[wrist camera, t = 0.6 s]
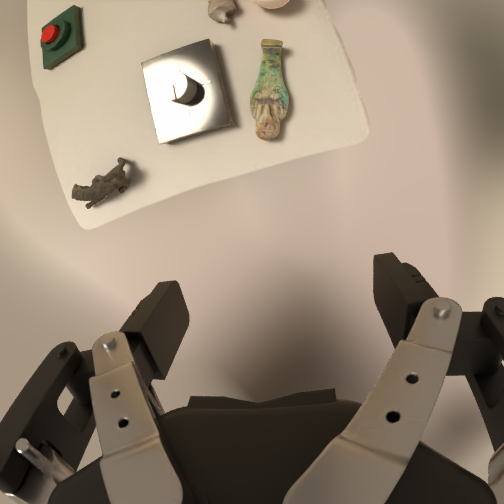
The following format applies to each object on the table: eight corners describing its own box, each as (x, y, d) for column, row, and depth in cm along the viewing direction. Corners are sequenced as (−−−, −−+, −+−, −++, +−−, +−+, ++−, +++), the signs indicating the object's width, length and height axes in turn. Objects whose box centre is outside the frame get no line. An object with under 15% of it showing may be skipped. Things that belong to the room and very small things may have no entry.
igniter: (48, 29, 34) (36, 26, 30) (80, 7, 32) (68, 2, 29) (50, 69, 38) (37, 68, 34) (83, 48, 36) (70, 44, 33)
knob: (165, 81, 36) (152, 76, 32) (193, 72, 35) (183, 65, 31) (171, 107, 38) (158, 105, 33) (199, 98, 37) (189, 94, 32)
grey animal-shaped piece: (129, 152, 44) (105, 156, 37) (141, 183, 46) (119, 192, 39) (81, 180, 46) (56, 189, 39) (92, 208, 48) (68, 220, 41)
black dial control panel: (149, 66, 38) (140, 62, 35) (213, 44, 36) (208, 38, 33) (166, 143, 43) (158, 144, 40) (233, 124, 41) (229, 123, 38)
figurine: (299, 50, 35) (301, 43, 32) (280, 143, 41) (280, 143, 38) (263, 44, 35) (261, 36, 32) (244, 135, 41) (240, 135, 38)
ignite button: (46, 32, 32) (40, 31, 30) (59, 23, 31) (54, 21, 29) (47, 46, 33) (41, 45, 31) (60, 37, 32) (54, 35, 31)
